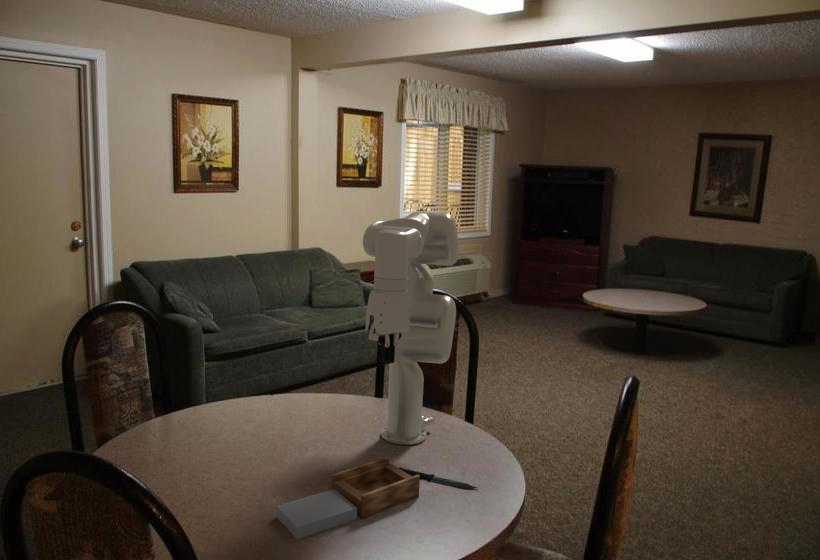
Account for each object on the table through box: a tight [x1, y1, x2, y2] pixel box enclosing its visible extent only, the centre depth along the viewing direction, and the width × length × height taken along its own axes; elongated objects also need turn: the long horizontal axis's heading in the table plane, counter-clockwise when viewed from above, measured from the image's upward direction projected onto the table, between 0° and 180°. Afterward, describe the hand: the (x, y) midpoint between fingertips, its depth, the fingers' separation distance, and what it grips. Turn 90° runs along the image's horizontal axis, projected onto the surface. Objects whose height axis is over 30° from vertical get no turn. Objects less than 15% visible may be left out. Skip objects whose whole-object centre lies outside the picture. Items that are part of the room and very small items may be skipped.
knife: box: [398, 466, 479, 489], centre depth 156 cm, size 21×1×3 cm
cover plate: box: [275, 489, 358, 540], centre depth 137 cm, size 14×10×3 cm
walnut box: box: [330, 456, 421, 520], centre depth 146 cm, size 16×12×5 cm
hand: (387, 361), depth 151 cm, fingers closed
